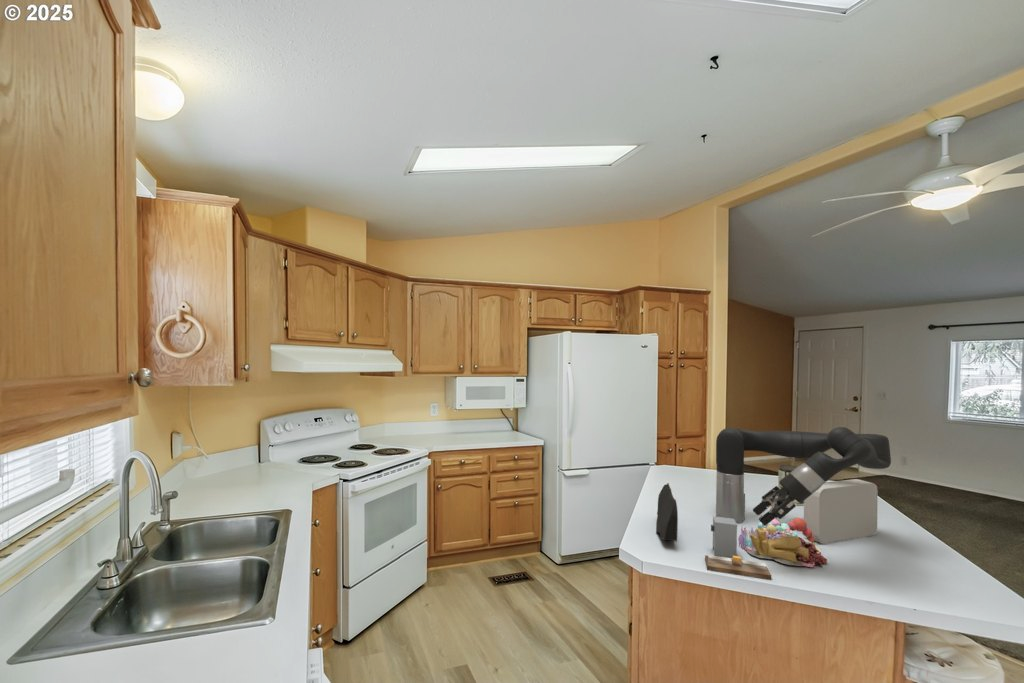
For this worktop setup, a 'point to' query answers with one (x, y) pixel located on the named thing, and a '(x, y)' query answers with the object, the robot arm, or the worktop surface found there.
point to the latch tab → (737, 558)
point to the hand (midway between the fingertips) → (758, 517)
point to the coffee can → (784, 471)
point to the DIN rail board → (737, 567)
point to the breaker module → (724, 537)
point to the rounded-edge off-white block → (842, 511)
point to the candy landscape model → (782, 543)
